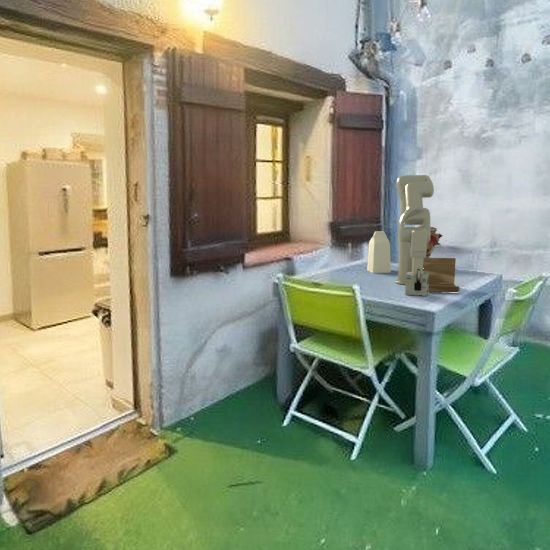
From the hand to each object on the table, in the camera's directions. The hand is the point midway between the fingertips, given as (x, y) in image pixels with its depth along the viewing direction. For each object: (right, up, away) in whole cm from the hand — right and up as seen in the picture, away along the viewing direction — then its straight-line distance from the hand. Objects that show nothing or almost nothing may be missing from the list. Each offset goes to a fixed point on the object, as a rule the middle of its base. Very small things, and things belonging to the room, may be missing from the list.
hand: (416, 288), depth 236 cm
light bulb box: (0, -3, +1) cm, 3 cm away
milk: (-4, +9, +68) cm, 69 cm away
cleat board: (+15, -1, +10) cm, 18 cm away
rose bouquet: (+25, +11, +75) cm, 80 cm away
